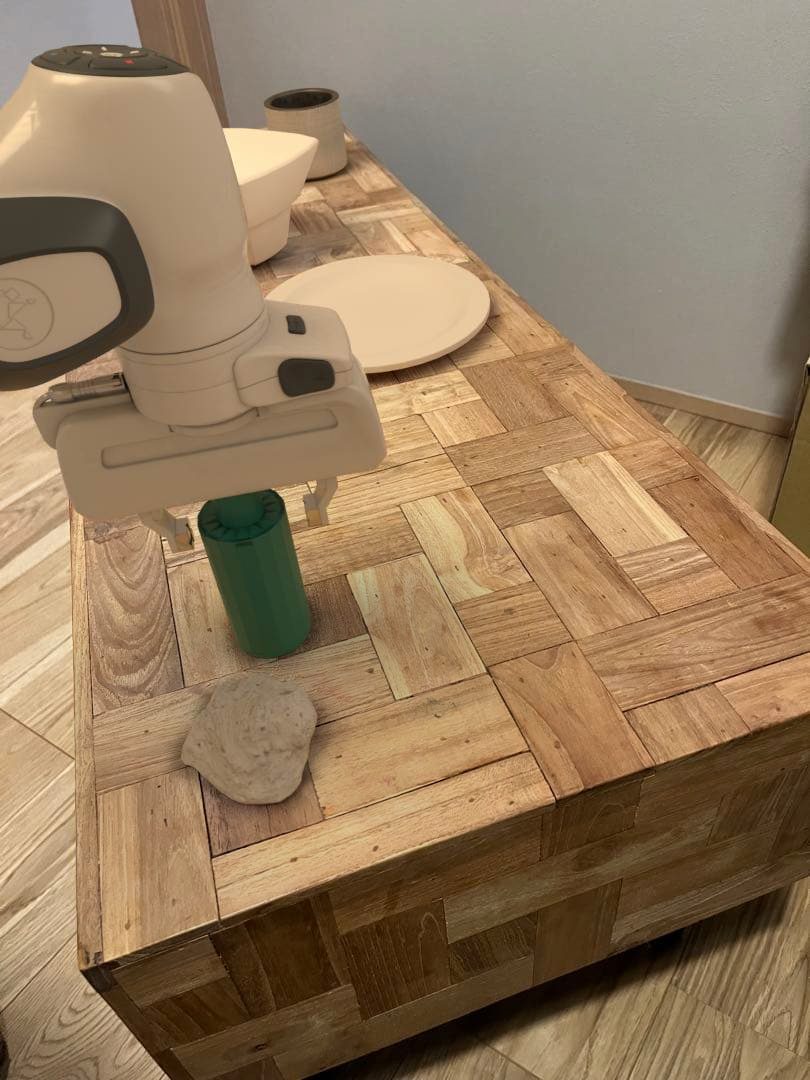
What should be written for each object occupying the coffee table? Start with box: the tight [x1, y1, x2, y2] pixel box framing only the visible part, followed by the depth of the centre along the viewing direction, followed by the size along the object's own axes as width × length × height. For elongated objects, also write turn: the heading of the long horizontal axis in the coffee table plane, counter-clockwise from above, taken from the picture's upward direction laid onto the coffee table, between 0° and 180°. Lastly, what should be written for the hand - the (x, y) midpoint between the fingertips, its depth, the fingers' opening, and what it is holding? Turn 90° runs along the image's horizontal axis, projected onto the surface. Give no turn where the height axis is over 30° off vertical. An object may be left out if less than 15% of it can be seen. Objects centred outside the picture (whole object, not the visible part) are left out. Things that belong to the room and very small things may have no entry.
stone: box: [180, 672, 318, 805], centre depth 56 cm, size 10×5×10 cm
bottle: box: [196, 489, 312, 659], centre depth 59 cm, size 6×6×16 cm
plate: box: [264, 254, 491, 374], centre depth 99 cm, size 28×28×2 cm
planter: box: [263, 87, 348, 182], centre depth 137 cm, size 12×12×11 cm
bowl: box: [222, 127, 319, 266], centre depth 112 cm, size 19×19×14 cm
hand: (251, 533), depth 58 cm, fingers open, 8 cm apart
